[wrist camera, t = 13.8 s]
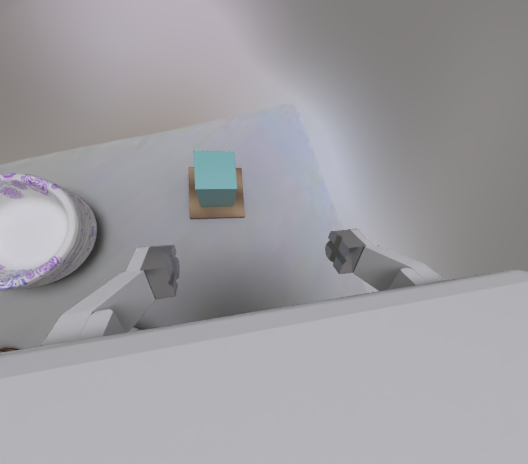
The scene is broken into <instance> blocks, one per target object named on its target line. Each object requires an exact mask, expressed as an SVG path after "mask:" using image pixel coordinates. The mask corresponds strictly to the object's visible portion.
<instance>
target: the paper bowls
mask: <svg viewBox="0 0 528 464" xmlns="http://www.w3.org/2000/svg"><path fill="white" fill-rule="evenodd" d="M96 237H97V223H96V219H95V216H94V213H93V212H92V210H91V209H90V207H89V206H88V205H87V204H86V203H85V202H84V201H83V200H82V199H81V198H79V197H78V196H76V195H74V194H73V193H71V192H69V191H68V190H66V189H64V188H62V187H60V186H58V185H56V184H54V183H52V182H50V181H48V180H46V179H43V178H40V177H36V176H33V175H28V174H13V173H12V174H0V291H5V290H14V289H24V288H32V287H38V286H42V285H46V284H49V283H52V282H55V281H57V280H59V279H61V278H63V277H65V276H67V275H69V274H70V273H72V272H74V271H75V270H76V269H77V268H78V267H79V266H80V265H81V264H82V263H83V262H84V261H85V260H86V259H87V257H88V256H89V254H90V253H91V251H92V249H93V247H94V244H95V241H96Z"/></svg>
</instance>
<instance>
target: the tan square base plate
mask: <svg viewBox="0 0 528 464" xmlns="http://www.w3.org/2000/svg"><path fill="white" fill-rule="evenodd" d="M236 180H237V192H236V197H235V202H234V206H225V207H201V205H200V202H199V199H198V196H197V193H196V190H195V174H194V167H189V195H190V219H208V218H241V217H245V215H244V201H243V186H242V171H241V168H236Z"/></svg>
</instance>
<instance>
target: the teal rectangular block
mask: <svg viewBox="0 0 528 464" xmlns="http://www.w3.org/2000/svg"><path fill="white" fill-rule="evenodd" d="M194 174H195V190H196V193H197V196H198V199H199V202H200V205H201V207H225V206H234V202H235V197H236V192H237V180H236V166H235V153H234V152H226V151H194Z"/></svg>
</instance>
